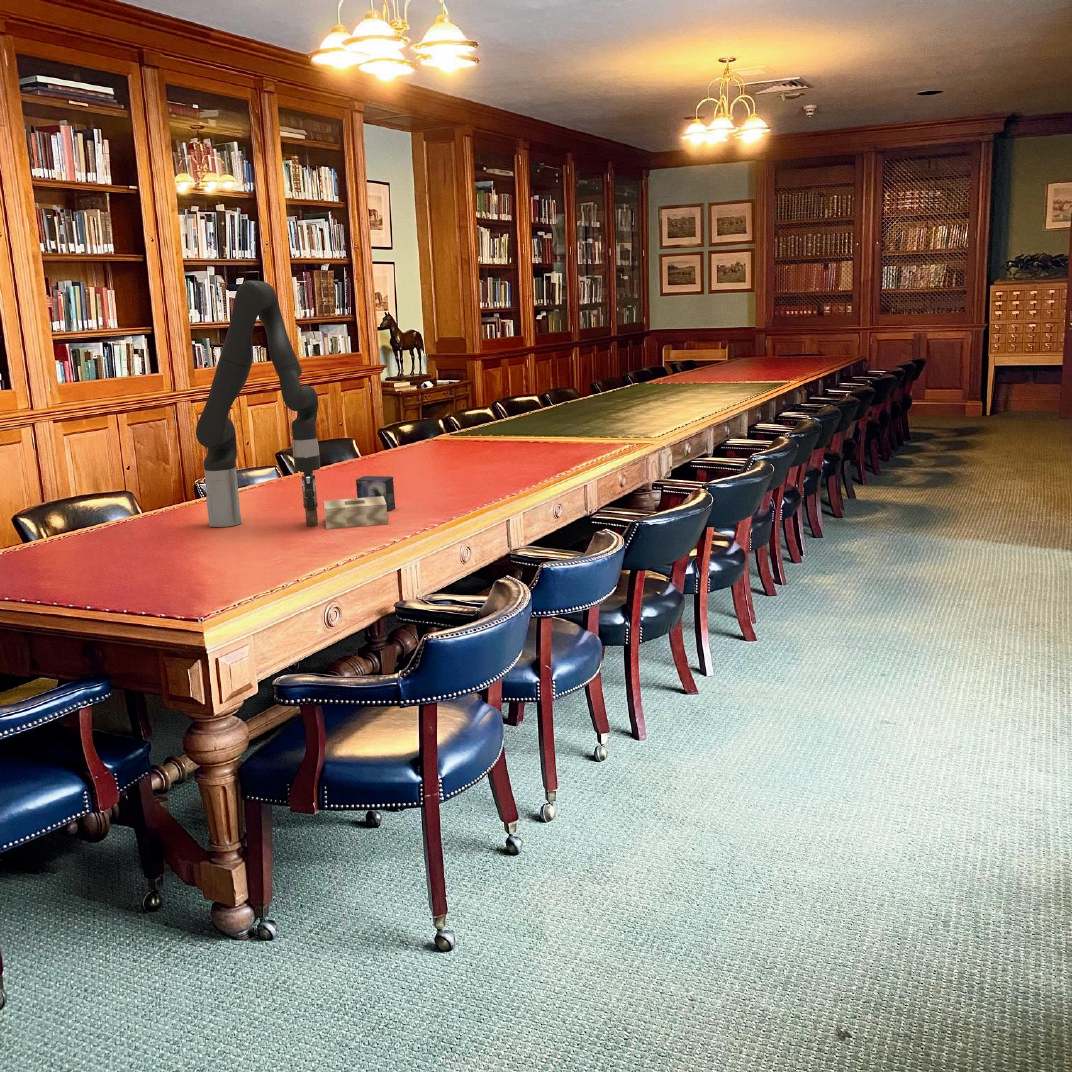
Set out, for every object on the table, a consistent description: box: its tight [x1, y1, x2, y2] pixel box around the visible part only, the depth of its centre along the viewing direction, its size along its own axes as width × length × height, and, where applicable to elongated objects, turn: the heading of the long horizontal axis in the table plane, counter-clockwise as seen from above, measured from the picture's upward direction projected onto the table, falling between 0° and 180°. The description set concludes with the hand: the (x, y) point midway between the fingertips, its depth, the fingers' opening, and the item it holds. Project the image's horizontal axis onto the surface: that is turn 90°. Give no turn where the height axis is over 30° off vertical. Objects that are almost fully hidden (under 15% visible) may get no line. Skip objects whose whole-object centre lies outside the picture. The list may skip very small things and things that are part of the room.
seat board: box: [323, 496, 389, 530], centre depth 319 cm, size 18×14×6 cm
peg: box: [301, 484, 319, 528], centre depth 316 cm, size 4×4×12 cm
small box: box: [355, 475, 396, 513], centre depth 336 cm, size 11×6×10 cm, turn 73°
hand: (311, 508), depth 316 cm, fingers open, 8 cm apart
